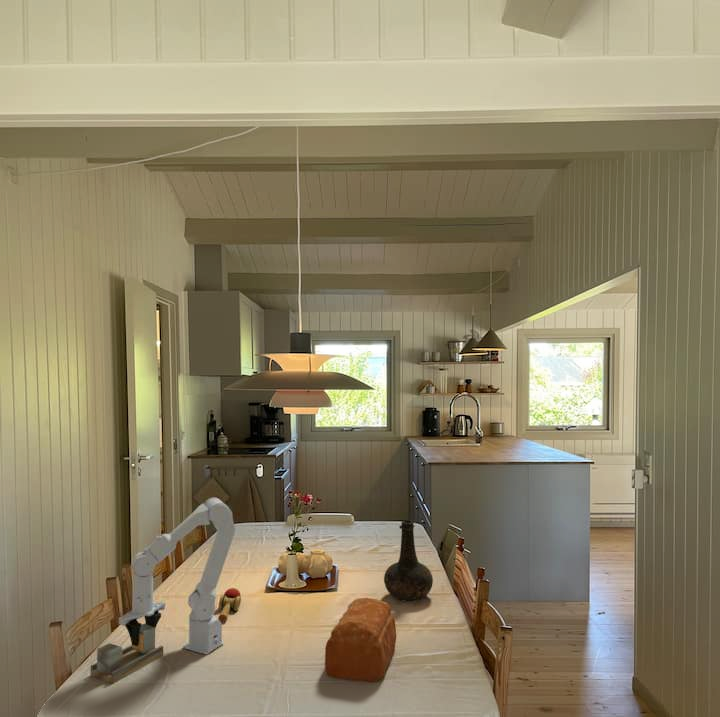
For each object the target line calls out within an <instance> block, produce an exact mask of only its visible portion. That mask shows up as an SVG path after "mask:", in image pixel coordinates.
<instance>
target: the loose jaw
mask: <svg viewBox="0 0 720 717" xmlns="http://www.w3.org/2000/svg"><path fill="white" fill-rule="evenodd" d="M131 645H132V644H131ZM132 647H133V649H134V650H136V651H139V652H141V653H143V654H144V653H146V652H148V651H150V650H152V649H154V648H156V629H155V627H152V626H150V625H147V624H146V623H141V627H140V631H139V643H138V646H134V645H132Z"/></svg>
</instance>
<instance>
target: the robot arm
mask: <svg viewBox="0 0 720 717" xmlns="http://www.w3.org/2000/svg"><path fill="white" fill-rule="evenodd" d="M210 521H211V522H212V524H213V526H214V527H215V530H216V532H217V533H216V535H215V537H214V540H213V543H212V546H211V549H210V552H209V554H208V558H207V560H206V564H205V567H204V569H203V572H202V576H201V577H200V578H201V579H200V581H198V583H197V584H196V585H195V588H194V590H193V591H192V592H191V593H190V595H189V596H188V598H187V599H188V600H187V604H188V607H189V608H190V610H191V611H190V613H189V614H188V615H189V616H188V642H187V643H186V644H184V645H182V648H183V649H186V650H189V651H192V652H196V653H199V654H202V653H203V655H208V654H210V653H212V652H213V651H214V649H215V650H217V649H218V648H220V647H222V646H223V645H224V642H223V639H222V637H223V636H222V634H223V633H222V631H223V627H222V626H223V625H222V622H220V621H219V620H218V618H216V616H215V615H214V613H215V611H216V606H215V605H216V604H215V602H216V598H217V586H218V583H219V580H220V577H221V574H222V571H223V568H224V565H225V562H226V559H227V556H228V554H229V551H230V548H231V545H232V541H233V539H234V536H235V533H236V528H235V527H236V526H235V523H234V517H233V512H232V510H231V509H230V507H229V506H228V505H227V504H225V503H224V502H223V501H222V500H221V499H220V498H218V497H215V496H214V497H209V498H208V499H207V500H205V502H204V503H201V504H200V505H198V507H196V509H195V510H194V511H193V512H192V513H191V514H189V515H188V517H186V518H185V519H184V520H183V521H182V522H181V523H179V524H178V526H177V527H176V528H174V529H173V530H171V532H169V533H162V534H161V535H160V534H159V535H157V536H156V537H155V540H154V541H153V542H152V543H150V544H149V545H148V546H147V547H146V548H145V547H144V548H142V549H141V551H140V552H139V551H138V553H136V554H135V555H134V556H133V557H132V560H131V561H130V566H131V567H132V569H133V573H132V596H131V597H132V604H131V605H132V607H131V608H132V610H130V611H128V612H127V613H125V614H124V615H122V616H120V617H118V625H120V626H125V628H126V631H128V635H129V638H130V642H131V645H134V646H138V643H139V631H140V627H141V625H142V623H141V622H139V621H138V620H140V619H141V618H144V622H145V624H147V625H150V626H152V627H155V630H156V628H157V625H158V623H159V621H160V619H161V618H162V613H161V612H159V611H164V610H166V602H163V601H159V602H155V603H154V577H153V572H154V571H155V569H156V566H157V565H158V564H160V562H162V561H163V560H164V559H166V557H168V556H169V555H170V554H171V553H172V552H174V551H175V550H176V548H177V543H178V542H179V541H180V540H182V539H183V538H185V537H186V536H187V535H189V533H191V532H192V531H193V530H195V529H196V528H197V527H198V526H207V525H211V522H210ZM222 644H223V645H222ZM219 646H220V647H219ZM217 647H218V648H217Z"/></svg>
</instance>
